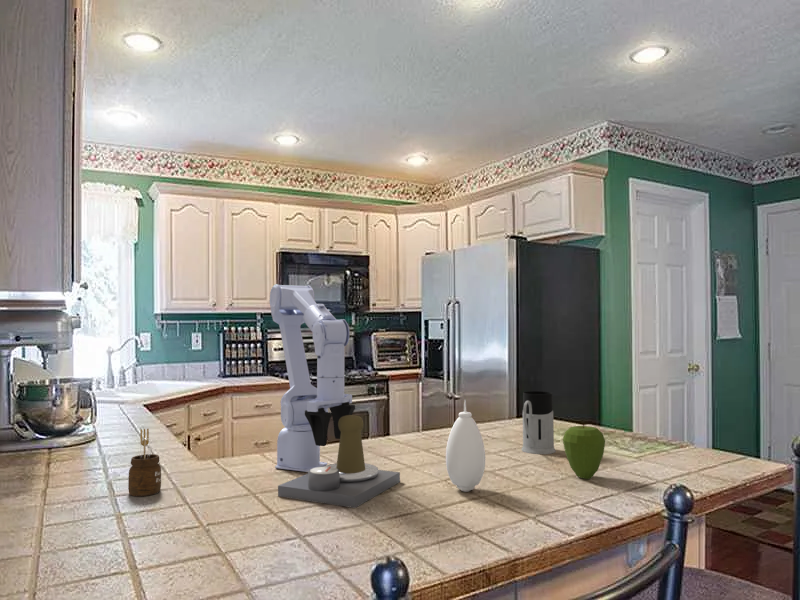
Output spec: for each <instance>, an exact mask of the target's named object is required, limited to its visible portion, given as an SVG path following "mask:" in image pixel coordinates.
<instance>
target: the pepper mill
mask: <svg viewBox="0 0 800 600" xmlns="http://www.w3.org/2000/svg"><path fill="white" fill-rule="evenodd" d="M338 427H339V430H340V431H341V435H340V439H339V445H338V452H337V460H336V463H337V466H336V468H337V469H339V470H340V472H341V473H358V472H362V471H364V470H365V463H366V462H365V455H364V449H363V448H364V446H363V440H362V433H361V432H362V430H363V429H364V420H363V418H362V417H361V416H360V415H355V414H352V415H346V416H342V417H341V418H340V419H339V422H338Z"/></svg>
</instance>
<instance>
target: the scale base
mask: <svg viewBox="0 0 800 600" xmlns="http://www.w3.org/2000/svg"><path fill="white" fill-rule="evenodd" d="M331 464H332V463H331ZM331 464H329V465H331ZM400 482H401V471H391V470H382V469H378V476H376V477H375V478H372V479H369V480H365V481H358V482H340V470H339V469H337V468H334V467H324V466H323V467H316V468H313V469H311V470H309V471H308V472H307V473H306V474H303V475H301V476H298V477H296V478H293V479H291V480H289V481H286V482H284V483H281V484H279V485H277V496H278V497H280V498H281V497H282V498H287V499H293V500H294V499H295V500H301V501H308V502H312V503H313V502H314V503H318V504H319V503H322V504H328V505H334V506H340V507H346V508H347V507H348V508H354V509H355V508H358V507H359V506H360V505H362V504H365V503H366V502H367V501H369V500H371V499H373V498H374V497H376V496H377V495H379V494H382V493H384V492H385V491H387V490H389V489H391V488H392V487H394V486H396V485H397V484H399V483H400Z"/></svg>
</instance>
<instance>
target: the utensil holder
mask: <svg viewBox="0 0 800 600" xmlns="http://www.w3.org/2000/svg"><path fill="white" fill-rule="evenodd" d="M149 431H150V430H149V428H147V429H146V428H143V429H142V428H140V436H139V437H140V439H139V440H140V441H139V453H138V454H139V455H135V456H132V457H131V458H130V459H131V460H130V465H131V466H130V467H129V471H128V483H127V484H128V485H127V486H128V494H129V495H130V496H132V497H146V496H147V497H148V496H153V495H156V494H158V493H159V492H161V488H162V466H161V465H160V463H159V462H160V455H158V454H154V453H153V454H152V452H148V453H146V451H147V450H146V447H147V446H148V445H149V448H148V449H150V451H152V448H153V445H152V440H151V439H150V436H149V433H150V432H149ZM150 441H151V442H150ZM142 446H143V454H141V453H142Z"/></svg>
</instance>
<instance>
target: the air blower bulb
mask: <svg viewBox="0 0 800 600" xmlns="http://www.w3.org/2000/svg"><path fill="white" fill-rule="evenodd" d="M472 415H473V414H472V412H470V411H467V401H466V399H464V402H463V411H460V412H459V413H458V417H457V419H456V420H455V421H454V423H453V426H452V427H451V430H450V432H449V435H448V438H447V443H446V448H445V466H446V472H447V474H448V475H447V476H448V477H449V479H450V481H451V483H452V485H455V486H456V488H457V489H458V490H461V491H462V492H465V493H466V492H471V490H474V489H475V487H476V486H478V485H479V484H480V482H481V481H482V478H483V475H484V474H485V469H486V450H485V443H484V440H483V437H482V433H481V430H480V428H479V426H478V424H477V423H476V421H475V419H474V418H473V417H472Z"/></svg>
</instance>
